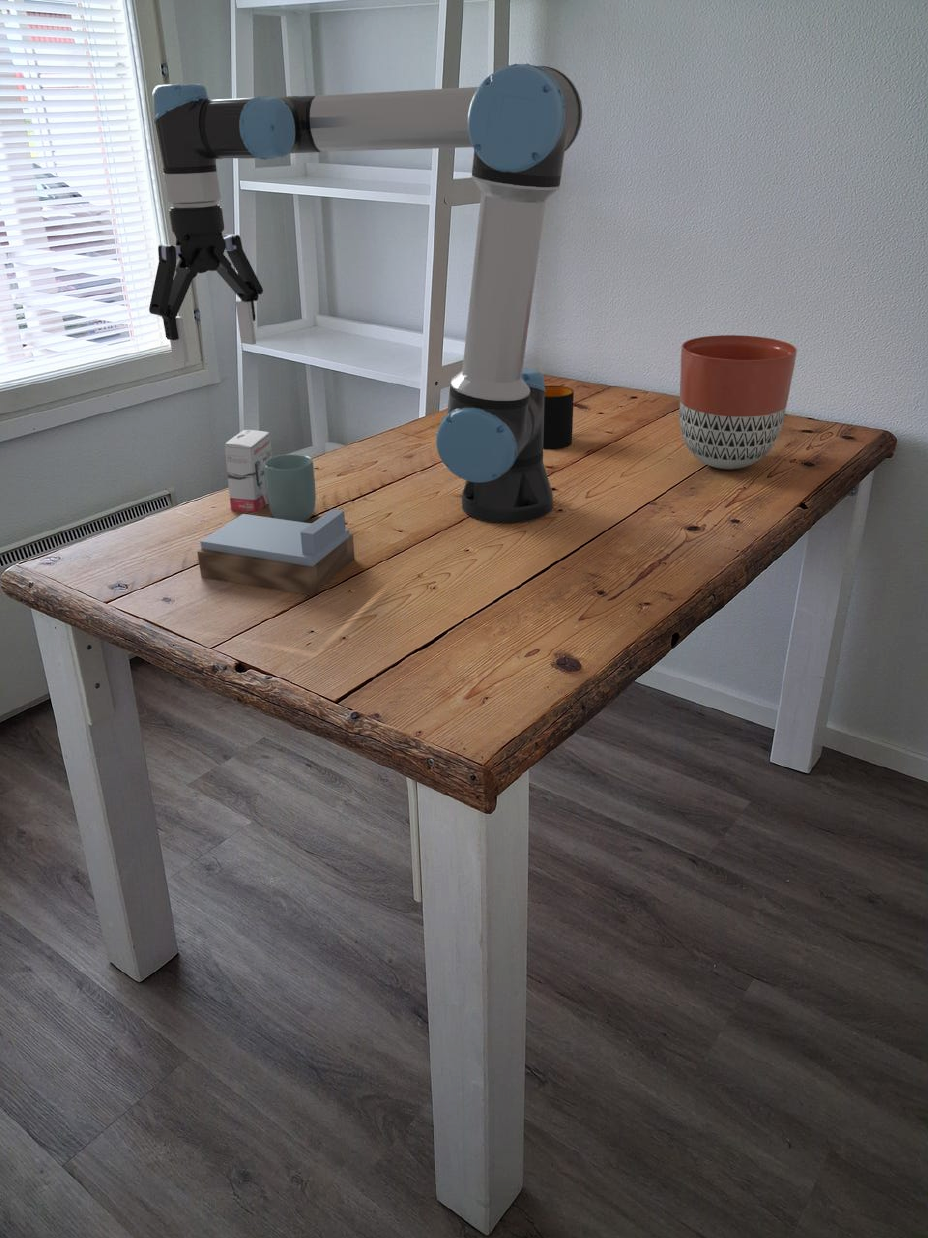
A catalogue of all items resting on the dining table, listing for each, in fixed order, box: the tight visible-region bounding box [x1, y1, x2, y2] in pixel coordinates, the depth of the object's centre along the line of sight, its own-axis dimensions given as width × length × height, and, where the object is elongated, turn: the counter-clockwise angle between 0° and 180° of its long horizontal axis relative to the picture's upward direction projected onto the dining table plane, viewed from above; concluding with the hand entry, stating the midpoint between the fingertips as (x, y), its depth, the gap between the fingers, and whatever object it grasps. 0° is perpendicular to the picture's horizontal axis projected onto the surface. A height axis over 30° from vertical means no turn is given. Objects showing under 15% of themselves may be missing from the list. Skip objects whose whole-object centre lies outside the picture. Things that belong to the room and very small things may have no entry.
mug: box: [543, 385, 575, 451], centre depth 196 cm, size 8×12×10 cm
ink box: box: [224, 429, 273, 513], centre depth 168 cm, size 9×5×12 cm, turn 168°
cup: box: [263, 453, 317, 523], centre depth 161 cm, size 8×8×10 cm
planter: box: [679, 334, 798, 470], centre depth 179 cm, size 20×20×21 cm
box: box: [197, 533, 355, 597], centre depth 145 cm, size 18×13×4 cm
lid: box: [200, 508, 350, 567], centre depth 143 cm, size 18×11×4 cm, turn 68°
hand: (215, 352), depth 155 cm, fingers open, 13 cm apart
